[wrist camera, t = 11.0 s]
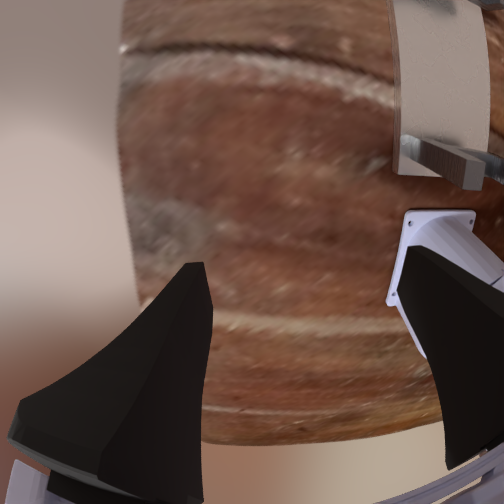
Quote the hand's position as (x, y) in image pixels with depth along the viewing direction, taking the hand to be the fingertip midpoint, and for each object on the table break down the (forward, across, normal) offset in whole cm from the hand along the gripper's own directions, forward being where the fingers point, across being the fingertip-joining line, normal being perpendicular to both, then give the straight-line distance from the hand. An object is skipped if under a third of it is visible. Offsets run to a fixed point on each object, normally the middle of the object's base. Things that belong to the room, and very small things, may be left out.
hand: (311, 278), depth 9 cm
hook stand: (+10, -13, -9) cm, 19 cm away
